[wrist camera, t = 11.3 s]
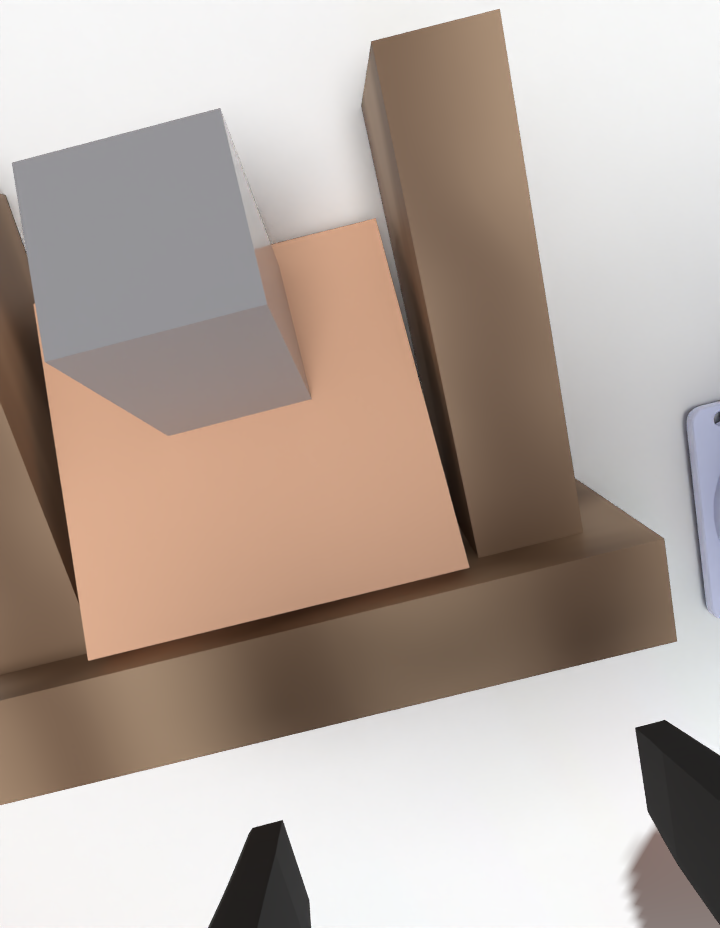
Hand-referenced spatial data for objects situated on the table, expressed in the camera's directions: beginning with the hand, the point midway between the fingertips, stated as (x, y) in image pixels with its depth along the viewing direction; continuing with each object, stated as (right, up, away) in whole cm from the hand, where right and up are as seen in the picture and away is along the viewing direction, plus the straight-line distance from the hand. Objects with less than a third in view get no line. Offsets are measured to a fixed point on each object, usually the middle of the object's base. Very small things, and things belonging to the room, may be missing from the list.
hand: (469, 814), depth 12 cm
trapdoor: (-5, +8, +6) cm, 11 cm away
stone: (-6, +10, +5) cm, 13 cm away
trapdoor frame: (-6, +9, +8) cm, 14 cm away
